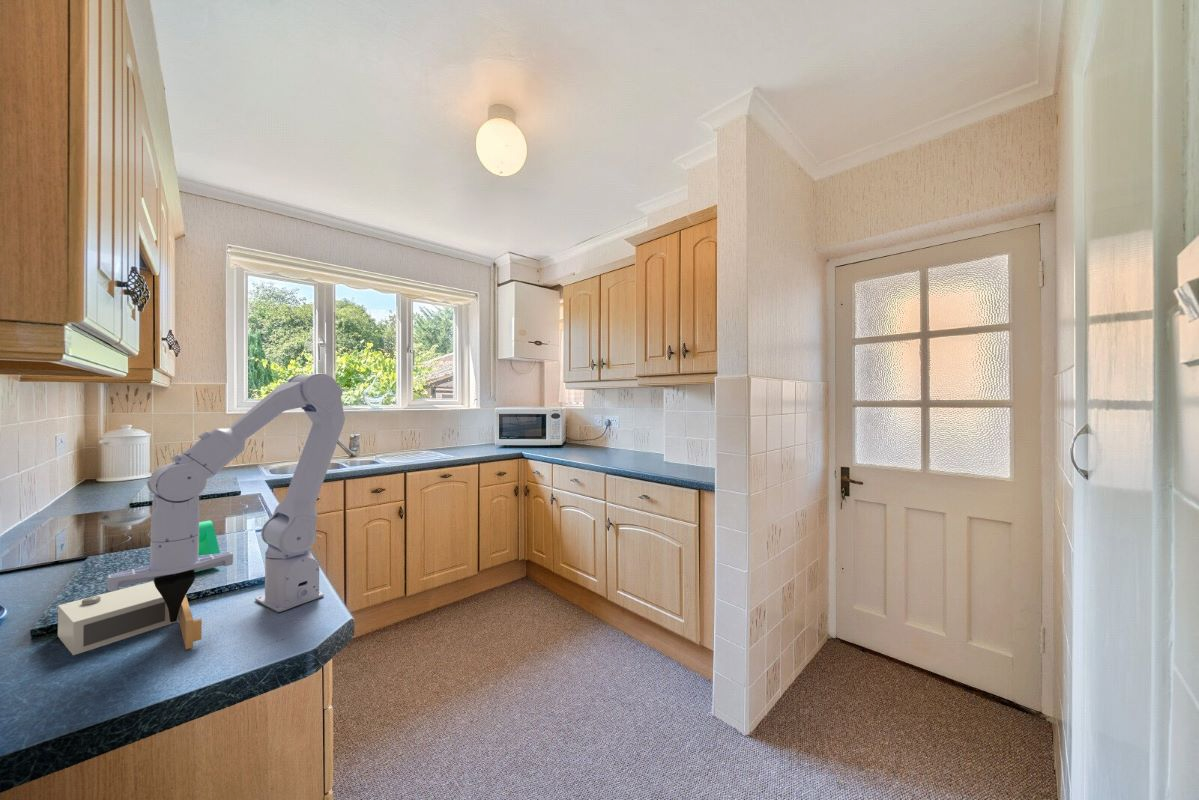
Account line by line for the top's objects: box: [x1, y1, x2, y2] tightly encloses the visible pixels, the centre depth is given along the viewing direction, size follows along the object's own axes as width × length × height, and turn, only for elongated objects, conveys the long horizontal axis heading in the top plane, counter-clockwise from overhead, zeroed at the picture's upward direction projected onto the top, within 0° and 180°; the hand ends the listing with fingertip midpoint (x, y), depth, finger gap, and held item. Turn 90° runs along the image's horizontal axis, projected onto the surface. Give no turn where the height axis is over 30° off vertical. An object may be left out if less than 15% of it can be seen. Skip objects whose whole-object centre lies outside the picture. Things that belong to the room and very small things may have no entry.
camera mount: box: [194, 519, 221, 573], centre depth 97 cm, size 12×8×10 cm, turn 60°
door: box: [178, 594, 203, 650], centre depth 71 cm, size 13×2×4 cm, turn 48°
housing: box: [57, 580, 179, 656], centre depth 73 cm, size 11×12×6 cm
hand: (173, 619), depth 71 cm, fingers closed
